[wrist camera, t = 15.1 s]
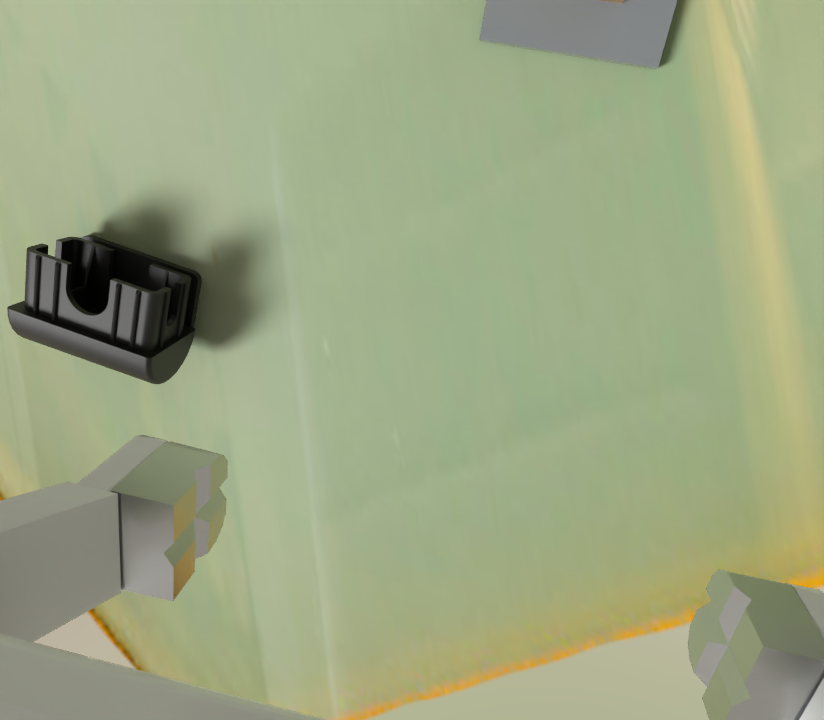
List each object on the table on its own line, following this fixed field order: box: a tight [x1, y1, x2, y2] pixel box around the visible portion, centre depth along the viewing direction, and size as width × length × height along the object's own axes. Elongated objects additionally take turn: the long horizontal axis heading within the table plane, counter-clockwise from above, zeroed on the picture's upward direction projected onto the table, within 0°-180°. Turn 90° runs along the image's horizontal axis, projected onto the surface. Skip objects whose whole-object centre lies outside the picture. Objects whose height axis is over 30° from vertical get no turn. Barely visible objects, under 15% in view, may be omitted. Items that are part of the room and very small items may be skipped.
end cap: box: [8, 235, 201, 384], centre depth 41 cm, size 10×7×7 cm
